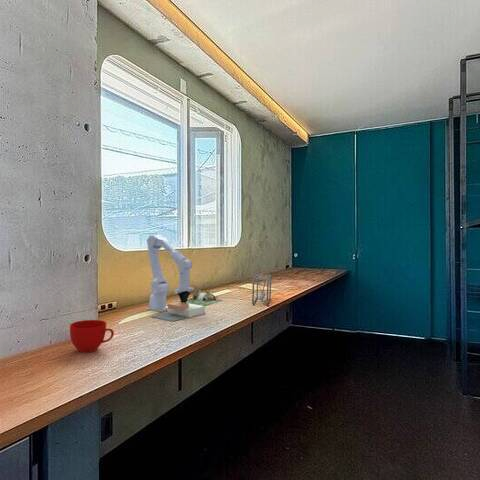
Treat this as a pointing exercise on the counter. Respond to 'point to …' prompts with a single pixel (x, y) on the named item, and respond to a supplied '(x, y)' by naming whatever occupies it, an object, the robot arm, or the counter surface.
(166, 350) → the counter surface
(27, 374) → the counter surface
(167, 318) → the mat
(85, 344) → the ceramic cup
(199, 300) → the decorative card
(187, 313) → the white platform
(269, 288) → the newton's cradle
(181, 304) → the tile
